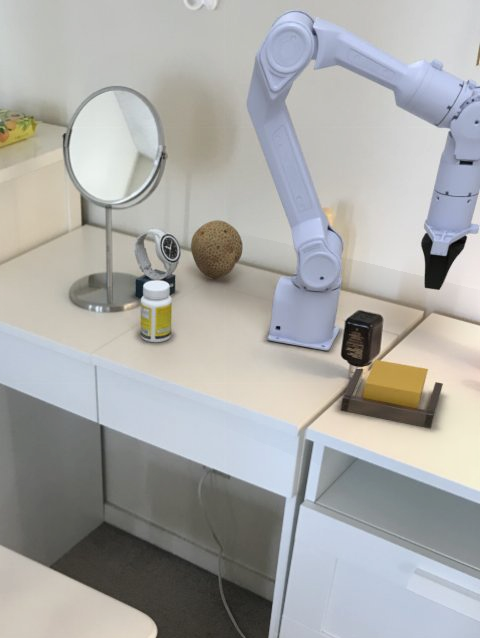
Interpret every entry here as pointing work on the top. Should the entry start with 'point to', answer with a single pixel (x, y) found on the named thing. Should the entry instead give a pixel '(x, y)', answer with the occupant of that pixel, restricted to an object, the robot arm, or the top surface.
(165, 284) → the supplement bottle
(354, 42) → the robot arm
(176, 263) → the watch
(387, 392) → the block
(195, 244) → the natural sponge
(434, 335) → the top surface
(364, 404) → the bay
